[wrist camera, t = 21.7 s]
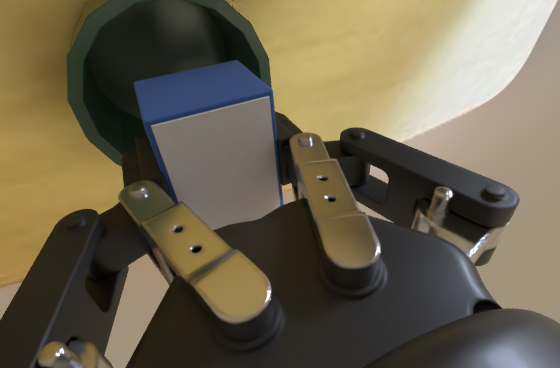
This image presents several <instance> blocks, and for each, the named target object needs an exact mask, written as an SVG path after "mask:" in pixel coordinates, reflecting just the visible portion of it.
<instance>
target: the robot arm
mask: <svg viewBox="0 0 560 368" xmlns="http://www.w3.org/2000/svg"><path fill="white" fill-rule="evenodd" d="M275 121H276V132H277V143H278V154H279V164H280V175H281V184H282V185H286V184H289V183H291V184H292V190H293V195H294V200H295V201H293V202H290V203H288V204H285V205H282V206H280V207H278V208H277V209H275V210H273V211H272V212H270V213H268V214H267V215H265V216H263V217H262V218H260V219H258V220H253V221H247V222H241V223H235V224H229V225H226V226H224V227H221V228H218V229H215V230H212V229H211V228H210V227H209V226H208V225H207V224H206V223H205V222H204V221H203V220H202V219H201V218H200V217H199V216H198V215H196V214H195V213H194V212H193V211H192V210H191V209H190V208H189V207H188V206H187V205H186V204H185V203H184V202H183V201H180V202H178V203H175V202H174V201H173V200H172V197H171V195H170V192H169V189H168V187H167V184H166V181H165V179H164V176H163V173H162V172H161V170H160V168H159V165H158V162H157V160H156V157H155V154H154V152H153V149H152V146H151V144H150V141H149V138H148V136H147V135H143V136H139V137H135V143H136V148H137V149H134V150H130V151H126V152H125V154H124V155H123V157H122V159H121V161H122V171H123V181H124V189H123V190H122V191H121V192H120V193H119V197H118V198H119V201H120V202H119V203H118V204H117V205H116V206H114V207H113V208H111V209H109V210H107V211H106V212H104V213H102V214H100V215H99V214H98V213H97V212H96V211H95V210H92V209H82V210H78V211H75V212H72V213H70V214H68V215H67V216H65V217H63V218H62V219H61V220H60V221H59V222H58V223H57V224H56V225H55V227H54V229H53V230H52V232H51V234H50V236H49V237H48V239H47V241H46V242H45V244H44V246H43V248H42V249H41V251H40V253H39V255H38V256H37V258H36V260H35V261H34V263H33V265H32V267H31V268H30V270H29V272H28V273H27V275H26V277H25V279H24V280H23V282H22V284H21V286H20V287H19V289H18V291H17V293H16V294H15V296H14V298H13V299H12V301H11V303H10V305H9V306H8V308H7V310H6V311H5V313H4V315H3V317H2V318H1V320H0V368H113V366H112V364H111V363H110V362H109V361H108V360H107V358H106V357H105V356H104V354H105V350H106V347H107V343H108V340H109V336H110V333H111V329H112V326H113V322H114V319H115V315H116V312H117V308H118V305H119V301H120V298H121V294H122V291H123V287H124V284H125V280H126V277H127V273H128V269H129V268H128V265H129V264H131V263H132V262H134V261H135V260H137V259H138V258H140V257H142V256H143V255H145V254H148V256H149V257H150V258H151V260H152V261H153V263H154V264H155V265H156V267H157V268H158V269H159V271H160V272H161V274H162V275H163V276H164V278H165V279H166V281H167V282H168V284H169V288H168V290H167V292H166V294H165V296H164V297H163V299H162V301H161V303H160V305H159V307H158V309H157V311H156V312H155V314H154V316H153V318H152V320H151V322H150V323H149V325H148V327H147V329H146V331H145V333H144V334H143V336H142V338H141V340H140V342H139V344H138V346H137V347H136V349H135V351H134V353H133V355H132V357H131V359H130V361H129V362H128V364H127V366H126V368H560V324H559V323H557V322H556V321H554V320H552V319H551V318H548V317H546V316H544V315H542V314H539V313H536V312H533V311H528V310H522V309H502V308H501V307H500V306H499V305H498V304H497V302H496V301H495V300H494V299H493V298H492V296H491V295H490V293H489V292H488V290H487V289H486V287H485V286H484V284H483V282H482V280H481V278H480V275H479V274H478V271H477V269H476V267H475V266H481V265H484V264H486V263H488V262H489V260H490V258H491V256H492V254H493V252H494V251H495V249H496V247H497V245H498V243H499V241H500V239H501V237H502V235H503V233H504V231H505V229H506V227H507V225H508V223H509V221H510V219H511V217H512V215H513V213H514V211H515V209H516V207H517V205H518V203H519V200H520V199H519V196H518V194H517V193H516V192H515V191H514V190H513V189H511V188H510V187H508V186H506V185H504V184H502V183H499V182H497V181H494V180H492V179H489V178H487V177H484V176H482V175H479V174H477V173H474V172H472V171H469V170H467V169H464V168H462V167H459V166H457V165H454V164H452V163H449V162H447V161H444V160H442V159H439V158H437V157H434V156H432V155H429V154H427V153H424V152H422V151H419V150H417V149H414V148H412V147H409V146H407V145H405V144H402V143H400V142H397V141H395V140H392V139H390V138H387V137H385V136H382V135H380V134H377V133H375V132H372V131H370V130H367V129H364V128H348V129H346V130H344V131H342V132H341V134H340V140H338V141H328V142H323V141H322V139H321V137H320V136H318V135H317V134H314V133H303V132H302V131H301V130H300V129H299V128H298V127H297V126H296V125H295V124H293V123H292V122H291V121H290V120H289V119H288V118H287V117H286V116H285V115H283V114H281V113H278V112H275ZM370 165H373V166H375V167H377V168H379V169H381V170H383V171H384V172H386V174H387V175H388V178H389V182H388V184H387V183H385V182H383V181H381V180H379V179H377V178H375V177H373V176H371V175H369V173H370ZM356 201H358V202H360V203H361V204H363V205H365V206H366V207H368V208H370V209H371V210H373V211H375V212H377V213H378V214H380V215H382V216H384V217H385V218H387V219H389V220H390V221H392V222H394V223H392V222H388V221H385V220H382V219H378V218H375V217H372V216H369V215H366V214H365V213H364V212H361V210H360V208H359V206H358V204H357V202H356Z"/></svg>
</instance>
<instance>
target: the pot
mask: <svg viewBox="0 0 560 368" xmlns="http://www.w3.org/2000/svg"><path fill="white" fill-rule="evenodd" d="M234 60H238V61H239V62H240V63H241V64H243V65H244V66H245V67H246V68H247V69H248V70H250V71H251V72H252V73H253V74H254V75H256V76H257V77H258V78H259V79H260V80H262V81H263V82H264V83H265V84H266V85H268V86H269V87H270V88H271V77H270V66H269V58H268V56H267V54H266V52H265V50H264V48H263V46H262V44H261V42H260V40H259V38H258V36H257V34H256V32H255V30H254V28H253V26H252V25H251V23H250V22H249V21H248V20H247V19H245V18H244V17H243V16H242V15H241V14H240V13H238V12H237V11H236V10H235V9H234V8H233V7H231V6H230V5H229V4H228V3H227V2H226V1H225V0H89V1H88V3H87V5H86V7H85V9H84V10H83V13H82V15H81V17H80V19H79V21H78V23H77V25H76V28H75V31H74V35H73V38H72V42H71V45H70V48H69V52H68V55H67V90H68V101H69V104H70V106H71V108H72V110H73V112H74V114H75V116H76V118H77V120H78V122H79V124H80V126H81V128H82V130H83V132H84V134H85V136H86V138H87V139H88V140H89V141H90V142H91V143H92V144H93V145H95V146H96V147H97V148H98V149H99V150H100V151H102V152H103V153H104V154H105V155H106V156H108V157H109V158H110V159H111V160H112V161H113V162H115V163H116V164H117V165H119V166H122V161H121V159H122V157H123V155H124V154H125V152H126V151H130V150H134V149H137V148H136V143H135V137H139V136H143V135H147V133H146V130H145V128H144V125H143V122H142V118H141V114H140V109H139V105H138V101H137V97H136V92H135V88H134V82H135V81H140V80H144V79H149V78H154V77H159V76H163V75H168V74H173V73H177V72H182V71H187V70H191V69H196V68H201V67H206V66H210V65H215V64H220V63H224V62H229V61H234ZM271 89H272V88H271Z"/></svg>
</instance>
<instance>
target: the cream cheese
mask: <svg viewBox="0 0 560 368" xmlns="http://www.w3.org/2000/svg"><path fill="white" fill-rule="evenodd" d="M134 88H135V92H136V97H137V101H138V105H139V109H140V114H141V118H142V122H143V125H144V128H145V130H146V133H147V136H148V138H149V141H150V144H151V146H152V149H153V152H154V154H155V157H156V160H157V162H158V165H159V168H160V170H161V172H162V173H163V176H164V179H165V181H166V184H167V187H168V189H169V192H170V195H171V197H172V200H173V201H174V202H175V203H178V202H180V201H183V202H184V203H185V204H186V205H187V206H188V207H189V208H190V209H191V210H192V211H193V212H194V213H195V214H196V215H198V216H199V217H200V218H201V219H202V220H203V221H204V222H205V223H206V224H207V225H208V226H209V227H210V228H211V229H212V230H215V229H218V228H221V227H224V226H226V225H229V224H235V223H241V222H247V221H253V220H258V219H260V218H262V217H263V216H265V215H267V214H268V213H270V212H272V211H273V210H275V209H277V208H278V207H280V206H282V205H283V196H282V185H281V175H280V164H279V154H278V143H277V132H276V121H275V110H274V100H273V90H272V89H271V88H270V87H269V86H268V85H266V84H265V83H264V82H263V81H262V80H260V79H259V78H258V77H257V76H256V75H254V74H253V73H252V72H251V71H250V70H248V69H247V68H246V67H245V66H244V65H243V64H241V63H240V62H239V61H238V60H234V61H229V62H224V63H220V64H215V65H210V66H206V67H201V68H196V69H191V70H187V71H182V72H177V73H173V74H168V75H163V76H159V77H154V78H149V79H144V80H140V81H135V82H134Z"/></svg>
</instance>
